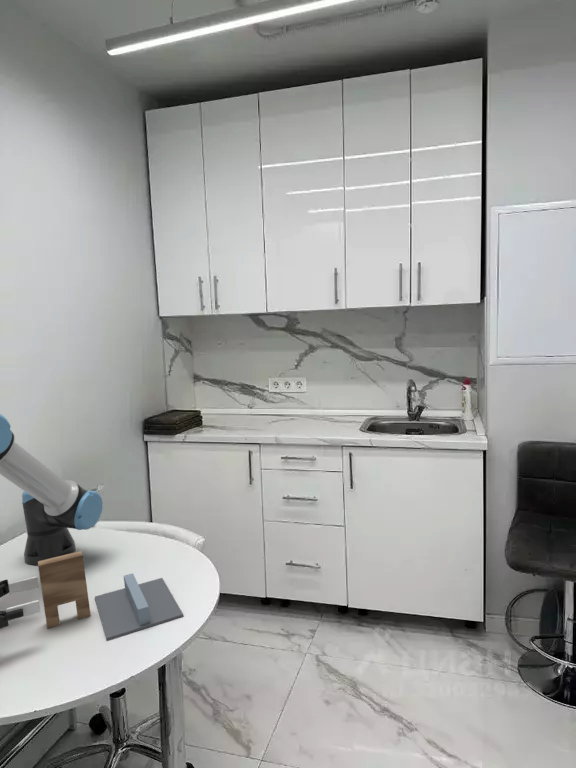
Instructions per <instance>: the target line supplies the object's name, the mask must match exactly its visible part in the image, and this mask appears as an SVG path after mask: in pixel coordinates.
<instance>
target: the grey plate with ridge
mask: <svg viewBox="0 0 576 768" xmlns="http://www.w3.org/2000/svg"><path fill="white" fill-rule="evenodd" d="M123 583H124V588H120V589H117V590H114V591H109V592H106V593H103V594H99V595H96V596H94V600H95V605H96V607H97V611H98V614H99V619H100V622H101V626H102V628H103V633H104V637H105V639H106V641H110V640H113V639H117V638H120V637H123V636H125V635H129V634H133V633H136V632H139V631H143V630H146V629H148V628H152V627H154V626H157V625H161V624H164V623H168V622H171V621H174V620H177V619H180V618H184V613H183V611H182V609H181V608H180V606H179V605H178V602H177V601H176V599H175V597H174V595H173V594H172V592H171V590H170V588H169V587H168V585H167V583H166V581H165V580H164V579H163V577H160V578H156V579H153V580H150V581H149V580H148V581H146V582H142V583H138V581H137V578H136V576H135V574H134V573H129V574H125V575H123Z"/></svg>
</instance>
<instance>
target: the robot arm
mask: <svg viewBox="0 0 576 768" xmlns="http://www.w3.org/2000/svg"><path fill="white" fill-rule="evenodd" d="M11 427H12V426H11V424H10V422H9V421H8V419H7V418H6V417H5V416H4V415H3V414H1V413H0V475H1V476H2V477H4V478H5V479H6V480H8V481H10V483H12V484H14V485H15V486H16V487H18V488H20V489H21V490H22V491H23V492H22V494H21V498H22V502H21V504H22V509H23V515H24V521H25V526H26V534H27V538H26V543H25V546H24V553H23V557H24V561H25V563H26V564H28V565H32V566H38V561H42V560H46V559H50V558H54V557H58V556H62V555H66V554H71V553H75V552H76V548H77V547H76V542H75V540H74V538H73V536H72V534H71V532H70V531H69V529H73V530H77V531H82V530H83V531H85V530H86V531H87V530H90V529H91V528H93V527H94V526H95V525H97V523H98V522H99V520H100V518H101V517H102V513H103V509H104V508H103V505H104V503H103V498H102V496H101V494H100V493H98V492H97V491H96V490H95V491H94V490H87V489H85V488H83V487H82V486H81V485H79V484H78V483H77V482H76V481H74V480H71V479H70V480H69V479H68V480H67V479H66V480H64V479H63V478H62V477H60V476H59V475H58V474H57V473H55V472H54V471H53V470H52V469H50V468H49V467H47V466H46V465H45V464H43V462H41V461H40V460H39V459H37V458H36V457H35V456H34V455H32V454H31V453H29V452H28V451H27V450H26V449H25V448H23V447H22V446H20V445H19V444H18V443H17V442H16V441H15V439H16V437H15V434H14V433H13V431H12V430H11ZM39 586H40V585H39V579H38V575H36V576H32V577H28V578H24V579H20V580H16V581H12V582H9V579H3V580H0V599H1V598H2V597H4V596H6V595H8V594H9V596H10V595H14V594H18V593H23V592H25V591H30V590H33V589H37V588H39ZM39 613H41V608H40V600H39V599H37V600H32V601H29V602H25V603H21V604H17V605H14V606H11V607H7V608H6V610H0V629H4V628H6V627H9V622H10V621H14V620H18V619H21V618H25V617H28V616H31V615H35V614H39Z"/></svg>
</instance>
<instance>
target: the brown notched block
mask: <svg viewBox="0 0 576 768" xmlns="http://www.w3.org/2000/svg"><path fill="white" fill-rule="evenodd" d="M37 567H38V573H39V581H40V582H39V583H40V587H41V593H42V594H41V595H42V602H43V609H44V616H45V623H46V628H47V629H48V630H49V629H50V628H54V627H58V626H61V621H60V614H59V607H58V606H61V605H64V604H65V605H66V604H69V603H72V602H73V603H74V602H75V608H76V614H77V619H78V620H81V619H86V618H89V617H91V616H92V615H91V609H90V601H89V600H90V599H89V593H88V585H87V577H86V576H87V575H86V571H85V562H84V555H83V552H82V550H79V551H75V552H74V553H71V554H66V555H62V556H58V557H54V558H50V559H46V560H42V561H38V565H37Z"/></svg>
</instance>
